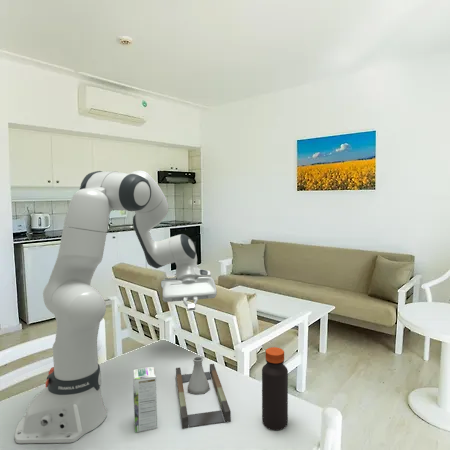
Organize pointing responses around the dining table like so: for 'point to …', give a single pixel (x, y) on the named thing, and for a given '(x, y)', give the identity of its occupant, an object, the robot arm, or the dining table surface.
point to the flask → (198, 378)
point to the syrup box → (145, 399)
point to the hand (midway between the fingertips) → (191, 309)
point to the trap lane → (206, 417)
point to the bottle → (274, 390)
